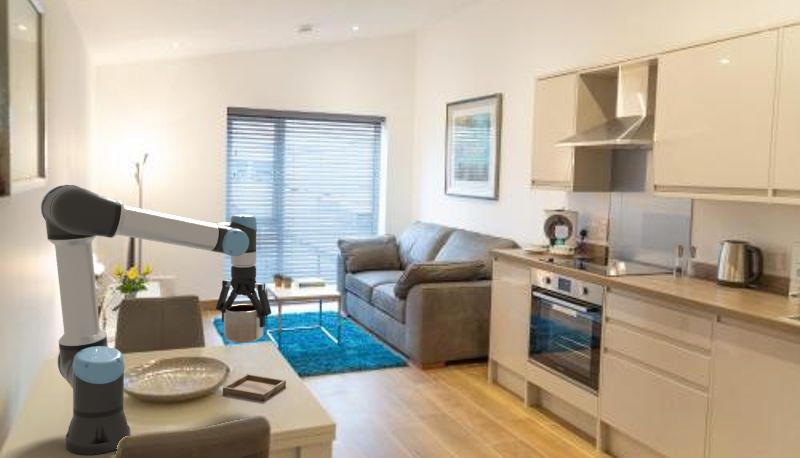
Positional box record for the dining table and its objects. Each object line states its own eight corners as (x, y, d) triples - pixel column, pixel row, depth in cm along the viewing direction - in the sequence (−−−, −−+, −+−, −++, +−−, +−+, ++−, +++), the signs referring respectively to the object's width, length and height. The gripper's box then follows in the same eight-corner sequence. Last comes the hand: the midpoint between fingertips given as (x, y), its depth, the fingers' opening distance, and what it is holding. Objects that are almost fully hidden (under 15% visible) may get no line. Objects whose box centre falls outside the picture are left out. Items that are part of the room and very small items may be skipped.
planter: (217, 339, 202) (217, 308, 200) (241, 331, 211) (242, 302, 210) (244, 345, 196) (244, 314, 195) (268, 336, 206) (268, 307, 205)
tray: (263, 401, 201) (263, 394, 201) (222, 393, 205) (222, 387, 205) (285, 386, 215) (285, 380, 214) (247, 379, 219) (247, 373, 219)
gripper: (283, 266, 201) (282, 336, 204) (218, 260, 208) (218, 327, 211) (271, 270, 194) (270, 342, 197) (203, 263, 201) (204, 333, 204)
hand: (243, 334), depth 204 cm, fingers closed on planter, 11 cm apart
